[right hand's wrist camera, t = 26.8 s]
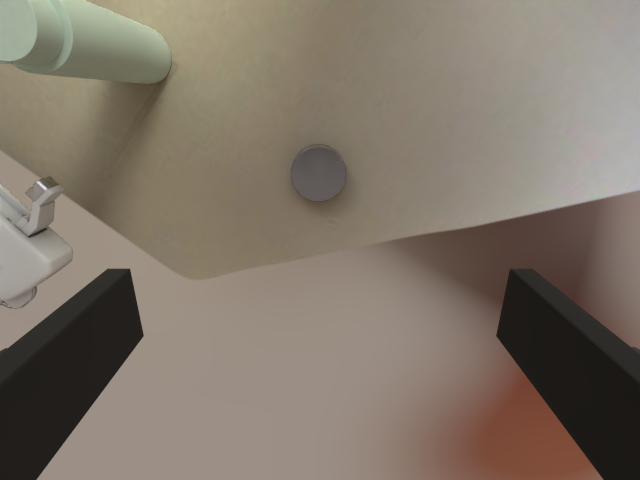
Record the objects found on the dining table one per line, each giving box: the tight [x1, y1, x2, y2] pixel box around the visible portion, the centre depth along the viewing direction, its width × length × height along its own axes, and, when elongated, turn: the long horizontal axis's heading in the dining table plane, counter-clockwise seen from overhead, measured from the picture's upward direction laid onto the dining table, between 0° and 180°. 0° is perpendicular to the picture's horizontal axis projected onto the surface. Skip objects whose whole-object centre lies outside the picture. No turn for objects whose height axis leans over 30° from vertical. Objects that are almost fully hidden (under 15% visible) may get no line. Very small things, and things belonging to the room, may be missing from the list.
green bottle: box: [0, 0, 171, 84], centre depth 27 cm, size 5×5×17 cm
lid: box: [291, 144, 346, 201], centre depth 37 cm, size 5×5×2 cm
